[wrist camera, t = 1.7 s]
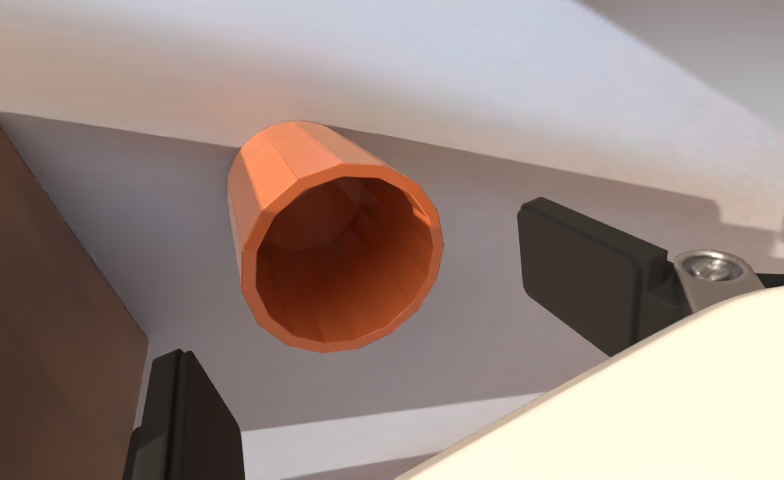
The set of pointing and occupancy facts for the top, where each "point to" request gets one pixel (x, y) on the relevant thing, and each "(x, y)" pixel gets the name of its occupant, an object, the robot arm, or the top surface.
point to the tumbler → (328, 238)
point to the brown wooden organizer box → (59, 345)
